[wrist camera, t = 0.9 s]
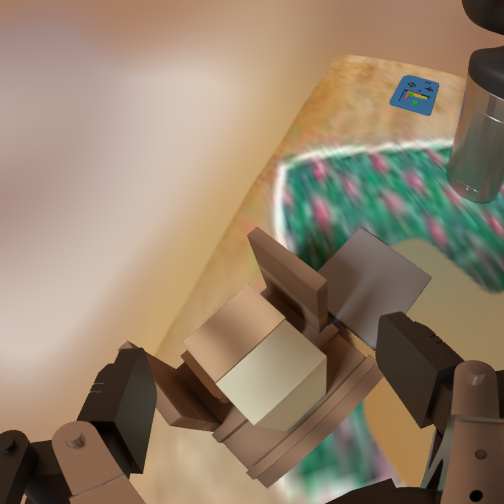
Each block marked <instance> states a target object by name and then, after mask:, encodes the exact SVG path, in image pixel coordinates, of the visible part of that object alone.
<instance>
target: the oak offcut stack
mask: <svg viewBox="0 0 504 504" xmlns="http://www.w3.org/2000/svg"><path fill="white" fill-rule="evenodd" d="M284 320H286V317H285V316H283V315H282V314H281V313H280V312H279V311H278V310H277V309H276V308H275V307H273V306H272V305H271V304H270V303H269V302H268V301H267V300H266V299H265V298H263V297H262V296H261V295H260V294H259V293H258V292H257V291H256V290H255V289H253V288H252V287H251V286H250V285H249V284H247V285H246V286H245V287H244V288H243V289H242V290H241V291H240V292H239V293H237V294H236V295H235V296H234V297H233V298H232V299H231V300H230V301H229V302H228V303H226V304H225V305H224V306H223V307H222V308H221V309H220V310H219V311H218V312H216V313H215V314H214V315H213V316H212V317H211V318H210V319H209V320H208V321H206V322H205V323H204V324H203V325H202V326H201V327H200V328H199V329H198V330H196V331H195V332H194V333H193V334H192V335H191V336H190V337H189V338H187V339H186V340H185V341H184V342H183V343H182V344H183V345H184V346H185V347H186V348H187V351H186V352H184V353H183V354H182V355H181V357H182V359H183V360H184V361H185V362H186V364H187V365H188V366H189V367H190V369H191V370H192V371H193V372H194V373H195V375H196V376H197V377H198V378H199V379H200V381H201V382H202V383H203V384H204V385H205V387H206V388H207V389H208V390H209V391H210V392H211V394H212V395H213V396H214V397H217V398H218V399H219V401H220V402H222V403H224V404H227V405H228V404H229V403H230V402H231V401H230V399H229V398H228V397H227V396H226V395H225V394H224V393H223V392H222V391H221V389H220V388H219V387H218V386H217V385H216V383H217V382H218V381H219V380H220V379H222V378H223V377H224V376H225V375H226V374H227V373H228V372H229V371H231V370H232V369H233V368H234V367H235V366H236V365H237V364H238V363H239V362H241V361H242V360H243V359H244V358H245V357H246V356H247V355H248V354H249V353H250V352H251V351H252V350H254V349H255V348H256V347H257V346H258V345H259V344H260V343H261V342H262V341H263V340H264V339H265V338H266V337H267V336H269V335H270V334H271V333H272V332H273V331H274V330H275V329H276V328H277V327H278V326H279V325H280V324H281V323H282V322H283V321H284ZM286 321H287V320H286Z"/></svg>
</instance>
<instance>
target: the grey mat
mask: <svg viewBox="0 0 504 504" xmlns="http://www.w3.org/2000/svg"><path fill="white" fill-rule="evenodd" d="M317 273H319V274H320V275H321V276H322V277H324V278H325V279H326V280H327V288H328V313H329V314H331V315H332V316H333V317H334V318H335V319H337V320H338V321H339V322H340V323H341V324H343V325H344V326H345V327H346V328H347V329H349V330H350V331H351V332H352V333H353V334H355V335H356V336H357V337H358V338H360V339H361V340H362V341H363V342H364V343H366V344H367V345H368V346H369V347H370V348H372V349H373V350H374V351H376V343H377V333H378V322H379V318H380V316H381V315H385V314H389V313H394V312H398V311H402V312H403V313H404V314H406V312H407V311H408V310H409V309H410V307H411V306H412V304H413V303H414V302H415V300H416V299H417V298H418V296H419V295H420V294H421V292H422V291H423V289H424V288H425V287H426V285H427V284H428V282H429V281H430V280H431V278H432V277H431V276H429V275H428V274H427V273H425V272H424V271H423V270H421V269H419V268H418V267H417V266H416V265H414V264H413V263H411V262H410V261H408V260H407V259H406V258H405V257H403V256H402V255H400V254H399V253H397V252H395V250H393V249H392V248H390V247H389V246H387V245H386V244H384V243H383V242H382V241H380V240H379V239H377V238H376V237H374V236H373V235H371V234H370V233H368V232H367V231H365V230H364V229H362V228H361V227H360V228H359V229H358V230H357V231H356V232H355V233H354V234H353V235H352V236H351V237H350V238H349V239H348V241H347V242H346V243H345V244H344V245H343V246H342V247H341V248H340V249H339V250H338V251H337V252H336V253H335V254H334V255H333V256H332V257H331V258H330V259H329V260H328V261H327V262H326V263H325V264H324V265H323V266H322V267H321V268H320V269H319V270H318V271H317Z"/></svg>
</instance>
